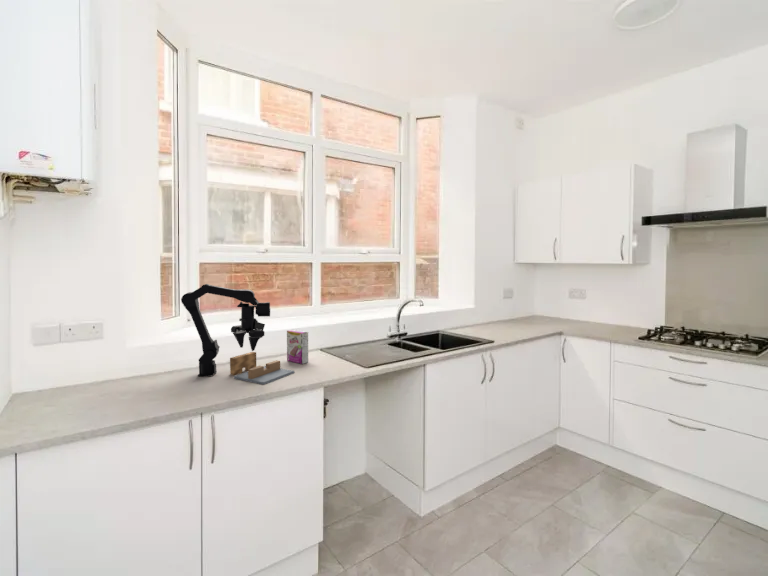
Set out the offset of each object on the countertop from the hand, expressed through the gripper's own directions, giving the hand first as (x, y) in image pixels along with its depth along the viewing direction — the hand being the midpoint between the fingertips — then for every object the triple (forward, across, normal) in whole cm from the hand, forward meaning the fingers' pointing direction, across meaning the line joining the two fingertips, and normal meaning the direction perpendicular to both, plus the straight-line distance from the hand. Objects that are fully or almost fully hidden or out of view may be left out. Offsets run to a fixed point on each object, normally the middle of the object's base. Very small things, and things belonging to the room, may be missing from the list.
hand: (247, 349), depth 191 cm
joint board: (+11, -11, -2) cm, 16 cm away
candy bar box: (+11, -4, -28) cm, 30 cm away
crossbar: (+11, +2, 0) cm, 11 cm away
